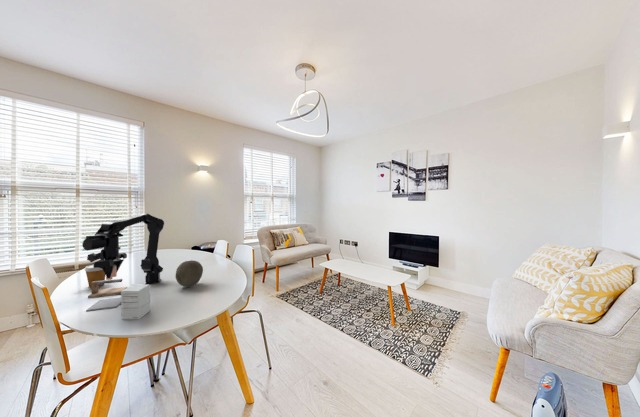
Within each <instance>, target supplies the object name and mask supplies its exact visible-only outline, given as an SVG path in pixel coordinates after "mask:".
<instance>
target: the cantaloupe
mask: <svg viewBox="0 0 640 417" xmlns="http://www.w3.org/2000/svg"><path fill="white" fill-rule="evenodd" d="M203 268H204V267H203V265H202V264H201V263H200V262H199V261H198V260H192V259H191V260H185V261H183V262H181V263H180V264H179V265H178V266H177V268H176V271H175V279H176V282H177V284H179V285H180V286H181V287H185V288H191V287H194V286H195V285H197V284H198V283H199V282H200V280H201V279H202V276H203V273H204V272H203V271H204V269H203Z"/></svg>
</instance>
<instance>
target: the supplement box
mask: <svg viewBox="0 0 640 417" xmlns="http://www.w3.org/2000/svg"><path fill="white" fill-rule="evenodd" d="M150 291H151V287H150V284H132V285H131V286H127V288H126V289H124V290H122V291H121V294H120V297H121V304H120V305H121V320H140V319H141V318H142V317H143V316H145V315H146V314H148V313H149V312H150V311H151V299H150V298H151V293H150Z"/></svg>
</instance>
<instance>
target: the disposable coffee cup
mask: <svg viewBox="0 0 640 417" xmlns="http://www.w3.org/2000/svg"><path fill="white" fill-rule="evenodd" d="M83 271H85V274H86V278H87V284H88V287H89V288H90V289H91V282H93V281H103V280H106V275H105V273H104V271H103V269H101V268H93V264H89V265H86V266H85V267H84V270H83ZM104 285H105V284H98V288H99V287H102V286H104Z"/></svg>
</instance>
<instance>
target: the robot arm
mask: <svg viewBox="0 0 640 417" xmlns="http://www.w3.org/2000/svg"><path fill="white" fill-rule="evenodd" d="M140 223H143V224H146V228H147V231H148V233H149V234H148V242H147V250H146V256H145V258H143V259H141V260H140V262H141V263H140V267H141V270H142V271H143V273H144V274H145V277H144V278H145V279H144V280H145V284H148V285H150V284H151V285H152V284H158V283H159V282H161V280H162V278H161V273H162V272H163V271H164V267H162V266H161V265H160V262H159V258H158V257H157V255H158V247H159V240H160V233H161V232H162V230H163V229H164V225H165V221H164V220H163V219H162V218H158V217H156V216H154V215H151V214H149V213H140V214H136V215H133V216H130V217H127V218H123V219H121V220H111V221H105V222H102V223H101V225H100V227H99V229H98V230H97V231H96V232H95V234H94V235H86V236H85V239H84V240H83V241H82V247H83V250H85V251H92V250H97V249H100V252H97V253H94V252H92V253H90V254H89V253H88V254H87V257H86V260H87V261H89V262H90V263H93V264H92V265H93V268H101V269H103V271H104V273H105V278H106V277H107V278H110V277H111V275H112V272H113V269H114V267H115V266H117V272H118V271H119V270H120V267H121V266H122V264H123V262H124V261H125V259H126V258H127V257H128V255H127V253H126V252H120V250H121V249H122V248H121V246H120V242H119V240H120V239H119V238H120V237H121V238H122V237H124V235H123V234H122V233H121V232H122V231H124V230H125V228H127V227H130V226H133V225H136V224H140ZM145 284H144V285H145Z"/></svg>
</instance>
